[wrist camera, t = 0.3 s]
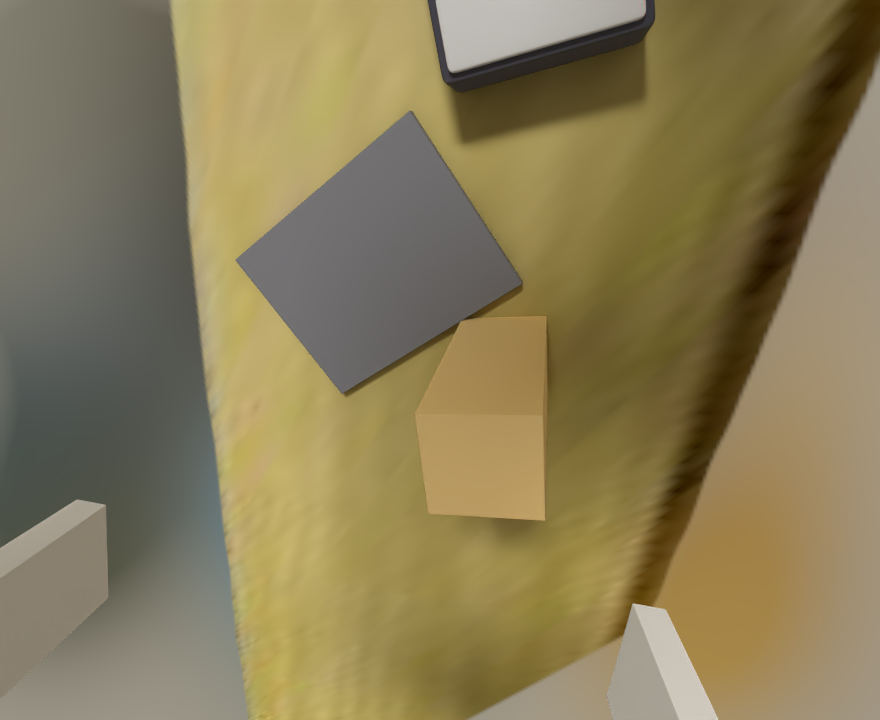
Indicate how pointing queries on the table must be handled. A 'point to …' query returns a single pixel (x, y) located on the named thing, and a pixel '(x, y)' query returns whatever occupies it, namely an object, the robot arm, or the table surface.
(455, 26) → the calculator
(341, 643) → the table surface
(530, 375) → the ochre block
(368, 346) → the charcoal mat
